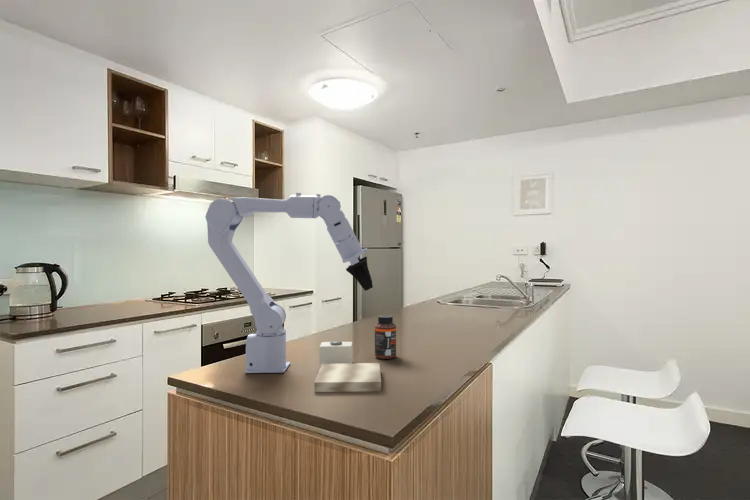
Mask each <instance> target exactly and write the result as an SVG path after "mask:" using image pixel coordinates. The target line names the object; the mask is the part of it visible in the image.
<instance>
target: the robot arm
mask: <svg viewBox="0 0 750 500" xmlns="http://www.w3.org/2000/svg"><path fill="white" fill-rule="evenodd" d="M321 195H322V194H321V193H317V194H316V195H308V194H307V195H302V193H301V192H295V194H291V195H290V196H289V197H288V198H286V199H276V198H261V197H249V196H247V197H229V198H228V199H227V198H217V199H214V200H213V201H212V202H210V204H209V207H208V208H207V211H206V214H205V220H206V223H207V225H206V226H207V227H206V228H207V242H208V245H209V247H210V249H211V251H212V252H213V254H214V255H215V257H217V260H218V261H219V262H220V263H221V265H222V266H223V269H224V270H225V271H226V272H227V274H228V276H229V277H230V279H231V280H232V282H233V283H234V285H235V286H236V287H237V289H238V290H239V292H240V293H241V294H242V296H243V298H244V300H245V301H246V302H247V304H248V306H249V311H250V314H251V315H252V317H253V320H254V326H255V329H256V331H255V333H249V334H248V335H247V337H246V341H245V342H246V343H245V370H244V371H245V372H244V373H245V374H272V373H273V374H275V373H277V374H279V373H280V374H283V373H285V372H286V370H287V369H288V368H289V366H290V365H291V362H290V361H287V331H286V329H285V328H284V326H283V324H284V323H285V321H286V317H287V316H286V315H287V313H286V311H285V309H284V307H282V306H281V305H279V304H277V302H275V301H274V298H272V297H271V296H270V295H269V294H268V293H267V292H266V290H265V289H264V287H263V286H262V284H261V283H260V282H259V280H258V279H257V277H256V275H255V274H254V272H253V271H252V270H251V268H250V267H249V265H248V264H247V262H246V260H245V259H244V258H243V256H242V255H241V253H240V251H239V250H238V249H237V247H236V246H235V244H234V243H233V238H234V236H235V232H236V230H237V228H238V227H239V225H241V223H242V222H243V220H244V218H246V219H247V218H249V217H251V216H252V215H253V214H256V213H286V214H287V215H288V216H289V217H290V218H291V219H292V218H293V219H317V218H319V217H320V218H321V219H322V220H323V223H324V224H325V226H326V229H327V232H328V234H329V236H330V238H331V240H332V242H333V243H334V245H335V248H336V249H337V251H338V254H339V256H340V257H341V260H342V261H341V262H343V263H342V264H346V263H350V264H349V265H347V267H346V268H345V271H346V272H347V273H348V274H350V275H351V276H353V278H354V279H355V280H356V281H357V283H359V285H360V286H361V287H362V289H363V290H364V291H369V290H371V289H372V288H373V286H374V285H373V281H372V280H373V279H372V276H371V273H370V270H369V266H368V257H367V256H364V257H362V258H361V257H360V256H362V255H363V254H365V253H366V252H367V251H369V250H368V248H367V247H366V248H363V247H362V246H361V244H360V242H359V240H358V237H357V235H356V234H355V231H354V230H353V228H352V225H351V224H350V222H349V220H348V219H347V218H346V215H345V212H344V211H343V210H341V208H342V206H341V201H340V200H338V199H337V198H336V197H335V196H333V195H330V194H327V195H323V196H321Z"/></svg>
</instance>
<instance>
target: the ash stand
mask: <svg viewBox="0 0 750 500" xmlns="http://www.w3.org/2000/svg"><path fill="white" fill-rule="evenodd" d="M381 375H382V374H381V366H380V363H379V362H360V363H359V362H357V363H355V362H352V363H337V364H322V365H321V367H320V366H319V370H318V372H317V375H316V378H315V379H314V384H313V385H314V386H313V387H314V388H313V389H314V393H341V392H342V393H344V392H346V393H348V392H350V393H351V392H355V393H357V392H382V378H381V377H382V376H381Z"/></svg>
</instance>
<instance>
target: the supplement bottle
mask: <svg viewBox="0 0 750 500" xmlns="http://www.w3.org/2000/svg"><path fill="white" fill-rule="evenodd" d="M393 319H394V318H393V315H391V314H390V315H389V314H388V315H387V314H381V315H378V316H377V321H378V322H377V323H376V324H375V325H374V357H375V358H376V359H380V360H391V359H392V360H393V359H394V358H396V357H397V326H396V324H395V323H394V322H393V321H394V320H393Z"/></svg>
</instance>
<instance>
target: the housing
mask: <svg viewBox="0 0 750 500" xmlns="http://www.w3.org/2000/svg"><path fill="white" fill-rule="evenodd" d="M337 363H353V341H341V340H332V341H322V342H321V343H320V345H319V368H320V367H321V365H322V364H337Z"/></svg>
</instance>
